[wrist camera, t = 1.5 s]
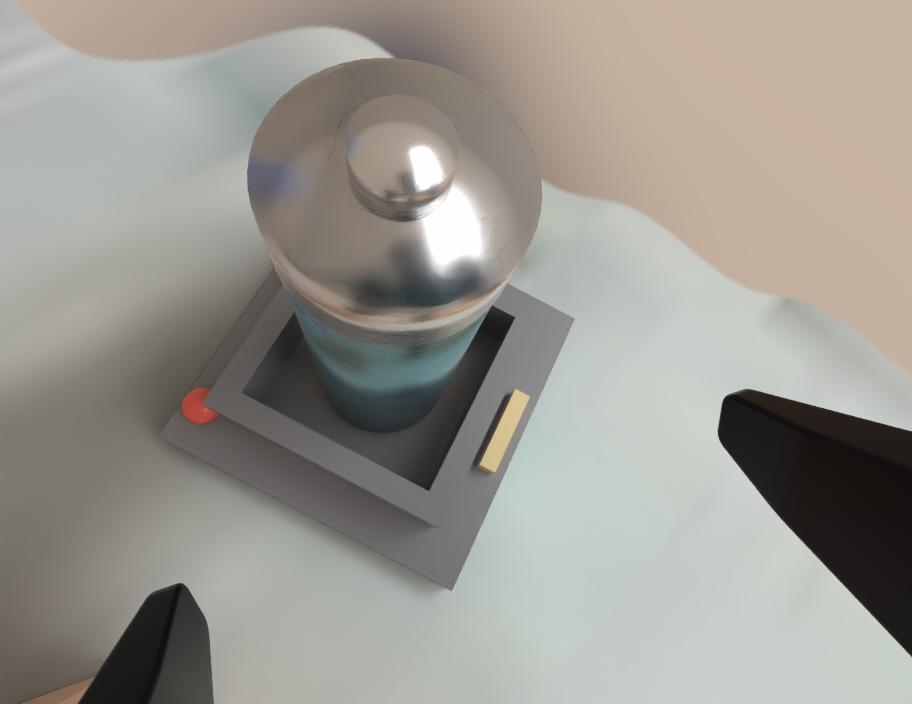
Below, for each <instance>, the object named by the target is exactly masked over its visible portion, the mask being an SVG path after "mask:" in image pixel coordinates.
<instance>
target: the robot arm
mask: <svg viewBox="0 0 912 704" xmlns="http://www.w3.org/2000/svg"><path fill="white" fill-rule="evenodd" d="M718 437H719V440H720V442H721V444H722V445H723V447H724V448H725V449H726V451H727V452H728V453H729V454H730V456H731V457H732V458H733V460H734V461H735V462H736V463H737V465H738V466H739V467H740V468H741V470H742V471H743V472H744V474H745V475H746V476H747V477H748V479H749V480H750V481H751V482H752V484H753V485H754V486H755V487H756V489H757V490H758V491H759V493H760V494H761V495H762V496H763V498H764V499H765V500H766V501H767V503H768V504H769V505H770V506H771V508H772V509H773V510H774V511H775V512H776V514H777V515H778V516H779V517H780V518H781V519H782V520H783V521H784V523H785V524H786V525H787V526H788V527H789V528H790V529H791V530H792V531H793V532H794V533H795V534H796V535H797V536H798V537H799V539H800V540H801V541H802V542H803V543H804V544H805V545H806V546H807V547H808V548H809V549H810V550H811V551H812V552H813V553H814V554H815V555H816V556H817V558H818V559H819V560H820V561H821V562H822V563H823V564H824V565H825V566H826V567H827V568H828V569H829V570H830V571H831V572H832V573H833V574H834V575H835V577H836V578H837V579H838V580H839V581H840V582H841V583H842V584H843V585H844V586H845V587H846V588H847V589H848V590H849V591H850V592H851V593H852V594H853V596H854V597H855V598H856V599H857V600H858V601H859V602H860V603H861V604H862V605H863V606H864V607H865V608H866V609H867V610H868V611H869V612H870V613H871V615H872V616H873V617H874V618H875V619H876V620H877V621H878V622H879V623H880V624H881V625H882V626H883V627H884V628H885V629H886V630H887V631H888V632H889V634H890V635H891V636H892V637H893V638H894V639H895V640H896V641H897V642H898V643H899V644H900V645H901V646H902V647H903V648H904V649H905V650H906V651H907V653H908V654H909V655H910V656H911V657H912V431H908V430H904V429H900V428H896V427H893V426H889V425H885V424H881V423H877V422H874V421H870V420H866V419H862V418H858V417H854V416H851V415H847V414H843V413H839V412H835V411H832V410H828V409H824V408H820V407H816V406H813V405H809V404H805V403H801V402H797V401H793V400H790V399H786V398H782V397H778V396H774V395H771V394H767V393H763V392H759V391H755V390H751V389H743V390H740V391H737V392H734V393H731V394H729V395H727V396H726V397H725V398H724V399H723V402H722V407H721V413H720V420H719V426H718ZM78 704H214V700H213V685H212V670H211V655H210V640H209V630H208V625H207V621H206V619H205V616H204V615H203V613H202V611H201V610H200V608H199V606H198V604H197V603H196V601H195V599H194V598H193V596H192V594H191V593H190V591H189V589H188V588H187V587H186V586H185V585H184V584H182V583H177V584H174V585H172V586H169V587H166V588H163V589H160V590H157V591H154V592H153V593H151V594H150V595H149V596H148V597H147V598H146V600H145V601H144V603H143V604H142V606H141V607H140V609H139V610H138V612H137V613H136V615H135V617H134V618H133V620H132V621H131V623H130V624H129V626H128V627H127V629H126V630H125V632H124V633H123V635H122V636H121V638H120V639H119V641H118V642H117V644H116V646H115V647H114V649H113V650H112V652H111V653H110V655H109V656H108V658H107V659H106V661H105V662H104V664H103V665H102V667H101V668H100V670H99V671H98V673H97V675H96V676H95V678H94V679H93V681H92V682H91V684H90V685H89V687H88V688H87V690H86V691H85V693H84V694H83V696H82V697H81V699H80V700H79V702H78Z"/></svg>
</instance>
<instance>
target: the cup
mask: <svg viewBox="0 0 912 704" xmlns="http://www.w3.org/2000/svg"><path fill="white" fill-rule="evenodd" d="M94 678H95V676H94V677H91V678H88V679H86V680H83V681H80V682H78V683H75V684H72V685H69V686H67V687H64V688H61V689H58V690H56V691H53V692H50V693H48V694H45V695H42V696H39V697H37V698H34V699H31V700H29V701H26V702H23V703H20V704H78V702H79V700H80V699H81V697H82V696H83V694H84V693H85V691H86V690H87V688H88V687H89V685H90V684H91V682H92V681H93V679H94Z"/></svg>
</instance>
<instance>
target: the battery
mask: <svg viewBox="0 0 912 704" xmlns="http://www.w3.org/2000/svg"><path fill="white" fill-rule="evenodd" d="M247 177H248V192H249V198H250V203H251V207H252V210H253V213H254V216H255V219H256V221H257V224H258V227H259V229H260V232H261V234H262V237H263V239H264V242H265V244H266V247H267V249H268V252H269V255H270V257H271V260H272V262H273V265H274V267H275V270H276V272H277V274H278V276H279V278H280V280H281V281H282V283H283V285H284V287H285V288H286V290H287V293H288V295H289V298H290V301H291V303H292V306H293V308H294V311H295V314H296V316H297V319H298V321H299V324H300V327H301V329H302V332H303V335H304V337H305V340H306V342H307V345H308V348H309V350H310V353H311V356H312V358H313V361H314V363H315V366H316V369H317V371H318V374H319V376H320V379H321V382H322V384H323V387H324V390H325V392H326V395H327V397H328V399H329V401H330V403H331V405H332V406H333V408H334V409H335V410H336V411H337V413H338V414H339V415H340V416H341V417H342V418H344V419H345V420H346V421H347V422H349V423H351V424H352V425H354V426H356V427H358V428H360V429H363V430H367V431H370V432H377V433H390V432H397V431H401V430H404V429H407V428H409V427H411V426H413V425H415V424H417V423H418V422H420V421H421V420H422V419H424V418H425V417H426V416H427V415H428V414H429V413H430V412H431V411H432V409H433V408H434V407H435V405H436V403H437V402H438V400H439V398H440V397H441V395H442V393H443V391H444V389H445V388H446V386H447V384H448V382H449V380H450V379H451V377H452V375H453V373H454V372H455V370H456V368H457V366H458V364H459V363H460V361H461V359H462V357H463V356H464V354H465V352H466V350H467V348H468V347H469V345H470V343H471V341H472V339H473V338H474V336H475V334H476V332H477V331H478V329H479V327H480V325H481V323H482V322H483V320H484V318H485V316H486V315H487V313H488V311H489V309H490V307H491V306H492V305H493V304H494V303H495V301H496V300H497V299H498V298H499V296H500V294H501V293H502V291H503V290H504V288H505V286H506V285H507V283H508V281H509V279H510V278H511V276H512V274H513V272H514V271H515V269H516V267H517V265H518V264H519V262H520V260H521V258H522V257H523V255H524V253H525V252H526V250H527V248H528V246H529V245H530V243H531V240H532V238H533V235H534V233H535V231H536V228H537V224H538V220H539V216H540V213H541V202H542V185H541V177H540V172H539V167H538V163H537V160H536V157H535V154H534V151H533V149H532V147H531V144H530V142H529V141H528V138H527V136H526V134H525V133H524V132H523V130H522V128H521V127H520V126H519V124H518V122H517V121H516V120H515V119H514V118H513V116H511V114H510V113H509V112H508V110H507V109H506V108H505V107H504V106H503V105H502V104H501V103H500V102H498V101H497V100H496V99H495V98H494V97H493V96H492V95H490V94H489V93H488V92H486V91H485V90H484V89H482V88H481V87H480V86H478V85H476V84H475V83H473V82H471V81H470V80H468V79H466V78H464V77H462V76H460V75H458V74H456V73H454V72H451V71H449V70H447V69H444V68H441V67H438V66H434V65H432V64H427V63H423V62H419V61H414V60H406V59H398V58H373V59H362V60H356V61H351V62H346V63H342V64H339V65H336V66H333V67H330V68H327V69H324V70H322V71H320V72H318V73H316V74H314V75H311V76H310V77H308V78H306V79H305V80H303V81H302V82H300V83H298V84H297V85H295V86H294V87H293V88H292V89H291V90H289V91H288V92H287V93H286V94H284V95H283V96H282V97H281V98H280V99H279V101H278V102H277V103H276V104H275V105H274V106H273V107H272V108H271V110H270V111H269V112H268V114H267V115H266V117H265V118H264V120H263V121H262V123H261V125H260V127H259V129H258V131H257V133H256V135H255V138H254V141H253V144H252V148H251V151H250V155H249V162H248V170H247Z"/></svg>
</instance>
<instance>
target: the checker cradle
mask: <svg viewBox="0 0 912 704" xmlns="http://www.w3.org/2000/svg"><path fill="white" fill-rule="evenodd" d="M573 321H574V318H572V317H570V316H568V315H566V314H565V313H563V312H561V311H559V310H557V309H555V308H553V307H551V306H549V305H547V304H545V303H543V302H542V301H540V300H538V299H536V298H534V297H532V296H530V295H528V294H526V293H524V292H522V291H520V290H519V289H517V288H515V287H513V286H511V285H509V284H507V285H506V286H505V288H504V290H503V291H502V293H501V294H500V296H499V298H498V299H497V300H496V301H495V303H494V304H493V305H492V306H491V307H490V309H489V311H488V313H487V315H486V316H485V318H484V320H483V322H482V323H481V325H480V327H479V329H478V331H477V332H476V334H475V336H474V338H473V339H472V341H471V343H470V345H469V347H468V348H467V350H466V352H465V354H464V356H463V357H462V359H461V361H460V363H459V364H458V366H457V368H456V370H455V372H454V373H453V375H452V377H451V379H450V380H449V382H448V384H447V386H446V388H445V389H444V391H443V393H442V395H441V397H440V398H439V400H438V402H437V403H436V405H435V407H434V408H433V409H432V411H431V412H430V413H429V414H428V415H427V416H426V417H425V418H424V419H422V420H421V421H420V422H418V423H417V424H415V425H413V426H411V427H409V428H407V429H404V430H401V431H397V432H390V433H377V432H370V431H367V430H363V429H360V428H358V427H356V426H354V425H352V424H351V423H349V422H347V421H346V420H345V419H344V418H342V417H341V416H340V415H339V414H338V413H337V411H336V410H335V409H334V408H333V406H332V405H331V403H330V401H329V399H328V397H327V395H326V392H325V390H324V387H323V384H322V382H321V379H320V376H319V374H318V371H317V369H316V366H315V363H314V361H313V358H312V356H311V353H310V350H309V348H308V345H307V342H306V340H305V337H304V335H303V332H302V329H301V327H300V324H299V321H298V319H297V316H296V314H295V311H294V308H293V306H292V303H291V301H290V298H289V295H288V293H287V290H286V288H285V287H284V285H283V283H282V281H281V280H280V278H279V276H278V274H277V272H276V270H275V269H274V270H273V272H272V273H271V274H270V276H269V277H268V279H267V280H266V282H265V283H264V285H263V286H262V287H261V289H260V290H259V292H258V293H257V295H256V296H255V297H254V299H253V300H252V302H251V303H250V305H249V306H248V308H247V309H246V310H245V312H244V313H243V315H242V316H241V318H240V319H239V320H238V322H237V323H236V325H235V326H234V328H233V329H232V331H231V332H230V333H229V335H228V336H227V338H226V339H225V341H224V342H223V343H222V345H221V346H220V348H219V349H218V351H217V352H216V354H215V355H214V356H213V358H212V359H211V361H210V362H209V364H208V365H207V366H206V368H205V369H204V371H203V372H202V374H201V375H200V377H199V378H198V379H197V381H196V382H195V384H194V385H193V387H192V388H191V390H190V391H189V392H188V394H187V395H186V396H185V398H184V399H183V401H182V402H181V404H180V405H179V407H178V408H177V410H176V411H175V413H174V414H173V415H172V417H171V418H170V420H169V421H168V423H167V424H166V425H165V427H164V428H163V430H162V431H161V433H160V434H159V436H158V437H159V438H161V439H163V440H165V441H167V442H169V443H171V444H173V445H175V446H176V447H178V448H180V449H182V450H184V451H186V452H188V453H190V454H192V455H194V456H196V457H197V458H199V459H201V460H203V461H205V462H207V463H209V464H211V465H213V466H215V467H216V468H218V469H220V470H222V471H224V472H226V473H228V474H230V475H232V476H234V477H235V478H237V479H239V480H241V481H243V482H245V483H247V484H249V485H251V486H253V487H255V488H256V489H258V490H260V491H262V492H264V493H266V494H268V495H270V496H272V497H274V498H275V499H277V500H279V501H281V502H283V503H285V504H287V505H289V506H291V507H293V508H294V509H296V510H298V511H300V512H302V513H304V514H306V515H308V516H310V517H312V518H314V519H315V520H317V521H319V522H321V523H323V524H325V525H327V526H329V527H331V528H333V529H334V530H336V531H338V532H340V533H342V534H344V535H346V536H348V537H350V538H352V539H354V540H355V541H357V542H359V543H361V544H363V545H365V546H367V547H369V548H371V549H373V550H374V551H376V552H378V553H380V554H382V555H384V556H386V557H388V558H390V559H392V560H393V561H395V562H397V563H399V564H401V565H403V566H405V567H407V568H409V569H411V570H413V571H414V572H416V573H418V574H420V575H422V576H424V577H426V578H428V579H430V580H432V581H433V582H435V583H437V584H439V585H441V586H443V587H445V588H447V589H449V590H451V591H452V589H453V587H454V585H455V583H456V581H457V578H458V576H459V574H460V572H461V569H462V567H463V565H464V563H465V561H466V558H467V556H468V554H469V552H470V550H471V547H472V545H473V543H474V541H475V538H476V536H477V534H478V532H479V530H480V527H481V525H482V523H483V521H484V518H485V516H486V514H487V512H488V510H489V507H490V505H491V503H492V501H493V499H494V496H495V494H496V492H497V490H498V487H499V485H500V483H501V481H502V479H503V476H504V474H505V472H506V470H507V468H508V465H509V463H510V461H511V459H512V456H513V454H514V452H515V450H516V448H517V445H518V443H519V441H520V439H521V437H522V434H523V432H524V430H525V428H526V425H527V423H528V421H529V419H530V417H531V414H532V412H533V410H534V408H535V405H536V403H537V401H538V399H539V397H540V394H541V392H542V390H543V388H544V386H545V383H546V381H547V379H548V377H549V374H550V372H551V370H552V368H553V366H554V363H555V361H556V359H557V357H558V355H559V352H560V350H561V348H562V346H563V343H564V341H565V339H566V337H567V335H568V332H569V330H570V328H571V326H572V324H573Z"/></svg>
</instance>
